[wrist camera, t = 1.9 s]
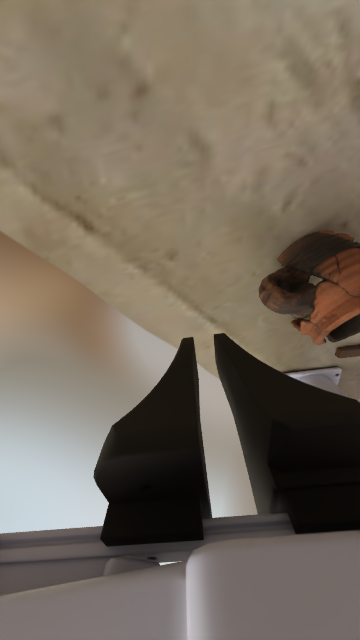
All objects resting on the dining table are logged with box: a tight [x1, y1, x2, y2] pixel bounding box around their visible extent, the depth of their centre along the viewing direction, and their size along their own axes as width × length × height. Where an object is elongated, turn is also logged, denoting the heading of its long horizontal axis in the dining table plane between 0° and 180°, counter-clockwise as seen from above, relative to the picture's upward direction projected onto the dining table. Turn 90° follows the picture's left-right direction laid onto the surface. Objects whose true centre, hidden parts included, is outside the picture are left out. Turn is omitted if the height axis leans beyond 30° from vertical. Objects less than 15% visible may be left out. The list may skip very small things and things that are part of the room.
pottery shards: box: [259, 230, 360, 345], centre depth 17 cm, size 12×9×8 cm
